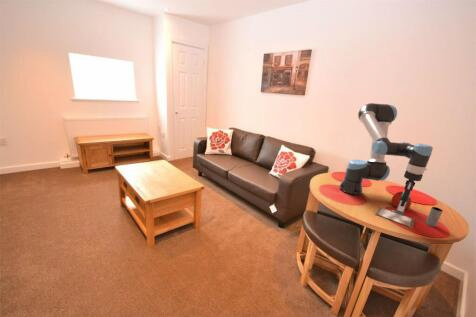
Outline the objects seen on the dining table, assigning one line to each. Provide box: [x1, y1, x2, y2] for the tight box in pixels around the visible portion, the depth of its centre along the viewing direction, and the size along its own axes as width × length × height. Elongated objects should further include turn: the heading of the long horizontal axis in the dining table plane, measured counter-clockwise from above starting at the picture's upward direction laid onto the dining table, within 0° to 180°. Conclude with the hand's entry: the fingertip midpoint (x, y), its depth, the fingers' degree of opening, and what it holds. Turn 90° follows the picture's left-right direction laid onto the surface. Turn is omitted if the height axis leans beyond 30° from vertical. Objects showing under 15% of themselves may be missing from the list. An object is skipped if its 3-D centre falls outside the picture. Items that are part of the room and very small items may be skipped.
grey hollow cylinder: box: [425, 206, 443, 228], centre depth 117 cm, size 4×4×10 cm
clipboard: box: [374, 206, 416, 230], centre depth 124 cm, size 18×13×1 cm
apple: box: [390, 191, 412, 210], centre depth 135 cm, size 10×10×10 cm
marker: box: [395, 190, 411, 216], centre depth 120 cm, size 4×4×14 cm
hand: (400, 209), depth 121 cm, fingers closed on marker, 4 cm apart
